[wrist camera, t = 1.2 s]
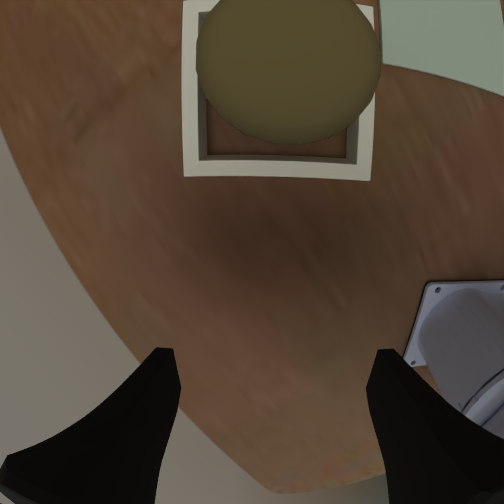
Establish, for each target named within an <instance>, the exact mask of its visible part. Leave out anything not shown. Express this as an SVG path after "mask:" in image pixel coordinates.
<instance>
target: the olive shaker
mask: <svg viewBox="0 0 504 504" xmlns="http://www.w3.org/2000/svg"><path fill="white" fill-rule="evenodd" d="M196 72H197V75H198V78H199V81H200V84H201V87H202V90H203V93H204V96H205V97H206V98H207V100H208V101H209V102H210V103H211V105H212V106H213V107H214V109H215V110H216V111H217V113H218V114H219V115H220V117H221V118H223V119H224V120H225V121H227V122H228V123H230V124H231V125H233V126H234V127H235V128H237V129H238V130H240V131H241V132H242V133H244V134H246V135H249V136H252V137H255V138H258V139H261V140H264V141H267V142H270V143H272V144H295V145H303V144H307V143H311V142H315V141H319V140H323V139H327V138H330V137H332V136H333V135H335V134H337V133H338V132H340V131H342V130H343V129H345V128H346V127H348V126H350V125H351V124H353V123H354V122H355V120H356V119H357V118H358V117H359V116H360V114H361V113H362V112H363V111H364V110H365V108H366V107H367V106H368V105H369V104H370V102H371V101H372V98H373V96H374V93H375V90H376V87H377V85H378V82H379V79H380V76H381V50H380V47H379V44H378V41H377V38H376V35H375V32H374V29H373V27H372V24H371V23H370V22H369V20H368V19H367V18H366V16H365V15H364V14H363V12H362V11H361V10H360V9H359V7H358V6H357V5H356V3H354V2H353V1H352V0H220V1H219V2H218V3H217V4H216V5H215V6H214V7H213V8H212V10H211V11H210V12H209V13H208V14H207V15H206V18H205V20H204V23H203V25H202V28H201V30H200V33H199V35H198V38H197V42H196Z"/></svg>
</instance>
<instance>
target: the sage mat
mask: <svg viewBox="0 0 504 504" xmlns="http://www.w3.org/2000/svg"><path fill="white" fill-rule="evenodd" d="M378 10H379V27H380V50H381V64H383V65H389V66H394V67H400V68H404V69H409V70H414V71H418V72H423V73H427V74H431V75H435V76H439V77H443V78H446V79H450V80H453V81H457V82H460V83H464V84H467V85H470V86H473V87H476V88H479V89H482V90H485V91H488V92H491V93H494V94H497V95H499V96H502V97H504V25H503V18H502V11H501V5H500V0H378Z"/></svg>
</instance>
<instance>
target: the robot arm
mask: <svg viewBox="0 0 504 504" xmlns="http://www.w3.org/2000/svg"><path fill="white" fill-rule="evenodd" d="M501 286H502V287H501ZM438 287H439V288H438ZM436 288H438V290H436ZM435 290H436V291H435ZM412 361H413V362H412ZM422 365H427V366H428V368H429V370H430V372H431V374H432V376H433V378H434V380H435V382H436V384H437V386H438V388H439V390H440V392H441V394H442V397H441V396H440V395H439V394H438V393H437V392H436V391H435V390H434V389H433V388H432V387H431V386H430V385H429V384H428V383H427V382H425V381H424V380H423V379H422V378H421V376H420V375H419V374H418V373H417V372H416V371H415V370H414V369H413V368H412V367H413V366H422ZM180 392H181V384H180V380H179V375H178V371H177V366H176V361H175V356H174V351H173V349H171V348H159V347H157V348H155V349H154V350H153V351H152V353H151V354H150V355H149V356H148V357H147V358H146V359H145V360H144V361H143V362H142V363H141V365H140V366H139V367H138V368H137V369H136V370H135V371H134V372H133V373H132V374H131V375H130V376H129V377H128V378H127V379H126V380H125V381H124V382H123V383H122V385H120V386H119V387H118V388H117V389H116V390H115V391H114V392H113V393H112V394H111V395H110V396H109V397H108V398H107V399H105V400H104V401H103V402H102V403H101V404H100V405H99V406H97V407H96V408H95V409H94V410H92V411H91V412H90V413H89V414H87V415H86V416H85V417H83V418H82V419H80V420H79V421H77V422H76V423H74V424H73V425H71V426H70V427H68V428H67V429H65V430H63V431H62V432H60V433H58V434H56V435H55V436H53V437H51V438H49V439H47V440H45V441H43V442H41V443H38V444H36V445H34V446H32V447H29V448H26V449H24V450H21V451H18V452H16V453H13V454H10V455H7V457H6V459H5V461H4V463H3V464H2V466H1V468H0V492H1V493H2V494H4V495H5V496H6V497H7V498H8V499H10V500H11V501H12V502H14V503H15V504H154V503H155V496H156V489H157V483H158V477H159V471H160V467H161V463H162V459H163V456H164V452H165V449H166V446H167V443H168V440H169V436H170V433H171V430H172V426H173V423H174V420H175V417H176V413H177V409H178V404H179V398H180ZM366 392H367V399H368V405H369V411H370V415H371V418H372V422H373V425H374V429H375V432H376V436H377V439H378V443H379V446H380V450H381V453H382V457H383V460H384V465H385V470H386V477H387V484H388V494H389V504H504V280H496V281H460V282H430V283H428V284H427V285H426V287H425V290H424V294H423V297H422V301H421V304H420V308H419V311H418V314H417V318H416V321H415V324H414V327H413V330H412V333H411V336H410V339H409V342H408V345H407V348H406V351H405V354H404V357H403V358H402V357H401V356H400V355H399V354H398V353H397V352H396V351H395V350H394V349H380V350H378V351H377V354H376V358H375V361H374V364H373V368H372V371H371V374H370V377H369V380H368V383H367V386H366ZM0 504H1V503H0Z"/></svg>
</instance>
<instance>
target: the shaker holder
mask: <svg viewBox="0 0 504 504" xmlns="http://www.w3.org/2000/svg"><path fill="white" fill-rule="evenodd" d="M219 1H220V0H188V1H183V27H182V136H183V164H184V176H279V177H309V178H330V179H347V180H362V181H370V175H371V163H372V149H373V132H374V106H375V93H374V96H373V98H372V101H371V102H370V104H369V105H368V106H367V107H366V108H365V110H364V111H363V112H362V113H361V114H360V116H359V117H358V118H357V119H356V120H355V122H354V123H353V124H351V125H350V126H348V127H347V139H346V158H333V157H315V156H292V155H207V98H206V97H205V96H204V93H203V90H202V87H201V84H200V81H199V78H198V75H197V72H196V42H197V38H198V35H199V33H200V30H201V28H202V25H203V23H204V20H205V18H206V15H207V14H208V13H209V12H210V11H211V10H212V8H213V7H214V6H215V5H216V4H217V3H218V2H219ZM356 5H357V6H358V7H359V9H360V10H361V11H362V12H363V14H364V15H365V16H366V18H367V19H368V20H369V22H370V23H371V24H372V27H373V29H374V19H373V7H370V6H364V5H358V4H356Z"/></svg>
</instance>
